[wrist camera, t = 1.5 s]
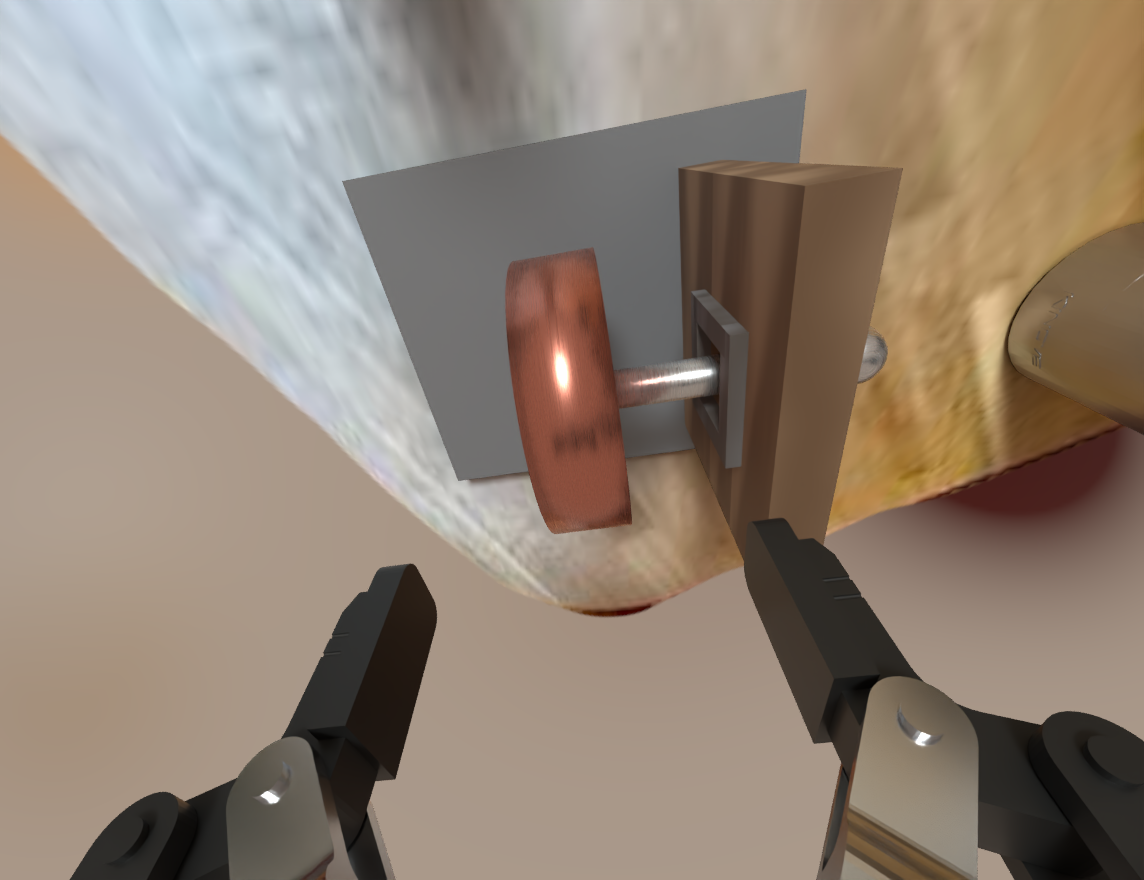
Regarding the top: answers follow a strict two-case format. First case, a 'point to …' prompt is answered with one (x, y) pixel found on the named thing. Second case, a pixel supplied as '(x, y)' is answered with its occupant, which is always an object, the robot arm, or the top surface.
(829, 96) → the top surface
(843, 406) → the brown wooden panel
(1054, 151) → the top surface
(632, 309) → the base board
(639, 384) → the copper disc with rod
